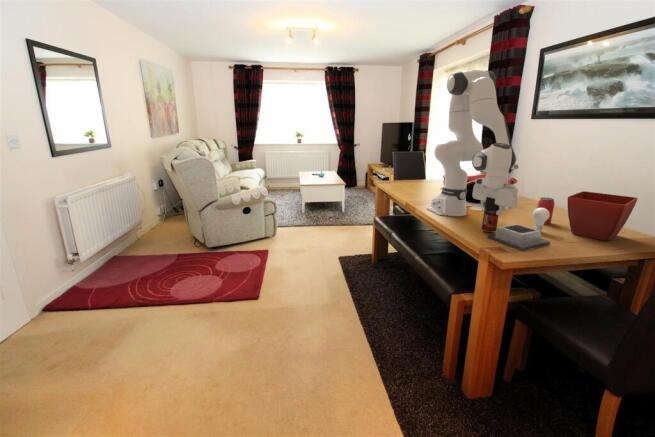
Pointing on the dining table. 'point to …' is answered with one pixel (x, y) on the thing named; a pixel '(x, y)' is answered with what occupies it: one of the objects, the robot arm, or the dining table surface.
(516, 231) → the collar holder
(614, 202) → the plant pot
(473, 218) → the dining table surface
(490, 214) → the deodorant
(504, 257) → the dining table surface
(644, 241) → the dining table surface
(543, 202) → the beer can
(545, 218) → the lightbulb
